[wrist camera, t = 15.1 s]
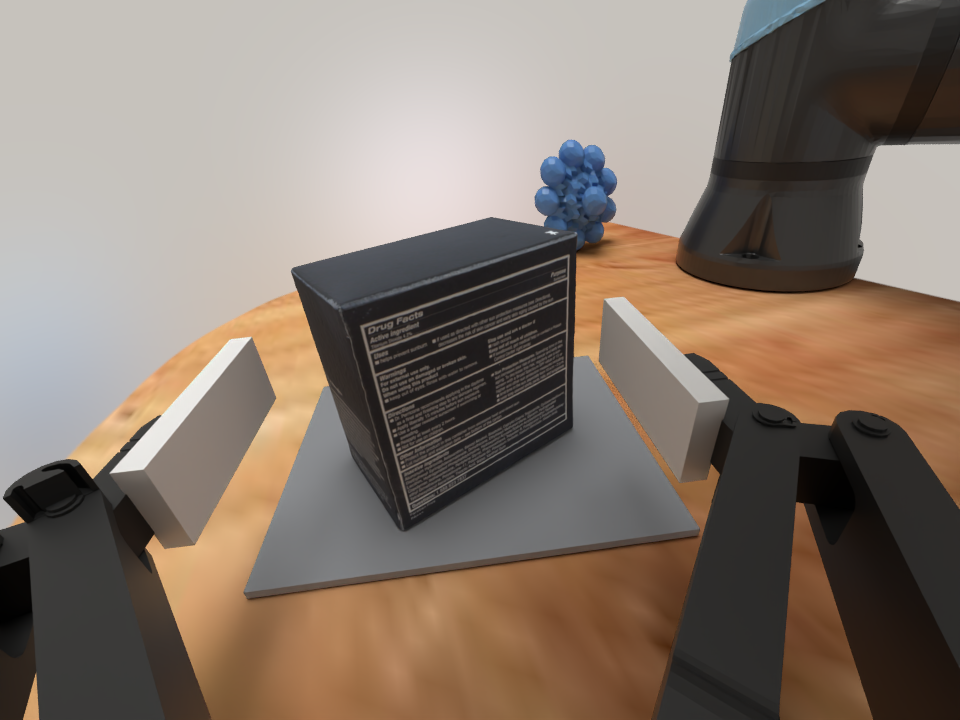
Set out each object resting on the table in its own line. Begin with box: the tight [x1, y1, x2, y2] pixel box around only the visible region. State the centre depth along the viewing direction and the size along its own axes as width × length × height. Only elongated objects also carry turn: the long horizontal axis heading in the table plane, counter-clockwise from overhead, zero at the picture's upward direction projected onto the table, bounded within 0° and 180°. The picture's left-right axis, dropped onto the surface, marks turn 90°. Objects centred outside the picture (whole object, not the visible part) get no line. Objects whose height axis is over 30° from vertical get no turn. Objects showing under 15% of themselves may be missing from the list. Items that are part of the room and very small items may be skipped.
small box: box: [291, 217, 578, 530], centre depth 20 cm, size 11×6×10 cm, turn 126°
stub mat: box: [244, 356, 700, 599], centre depth 22 cm, size 18×14×1 cm
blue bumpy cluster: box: [535, 140, 617, 250], centre depth 47 cm, size 12×7×12 cm, turn 120°
